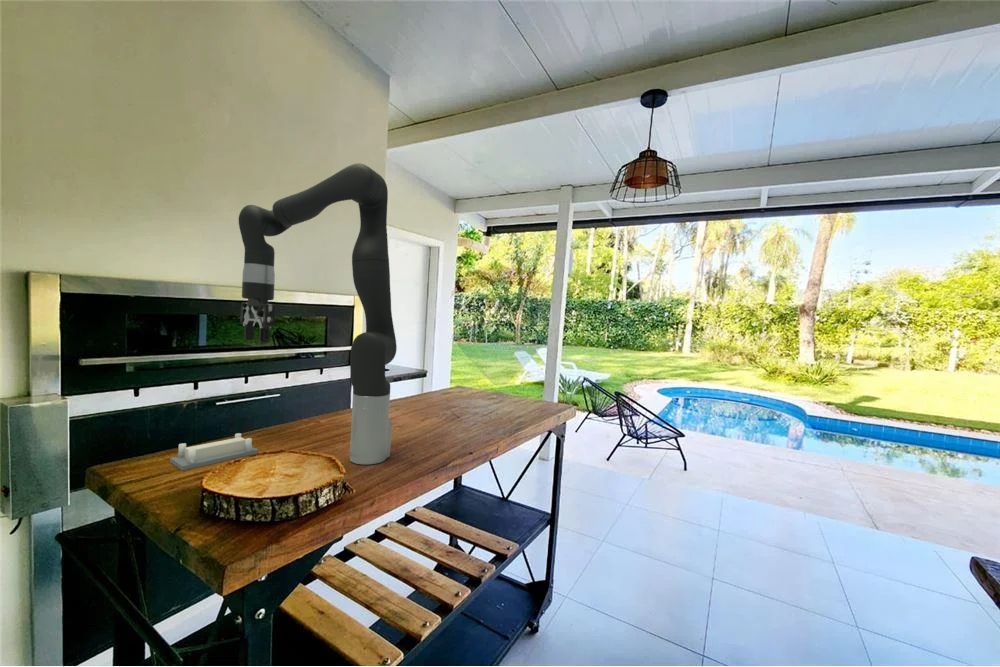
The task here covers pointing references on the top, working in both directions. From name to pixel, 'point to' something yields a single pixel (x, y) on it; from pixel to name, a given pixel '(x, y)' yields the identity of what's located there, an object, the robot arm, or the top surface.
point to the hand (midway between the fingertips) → (256, 341)
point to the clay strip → (217, 448)
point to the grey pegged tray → (194, 463)
